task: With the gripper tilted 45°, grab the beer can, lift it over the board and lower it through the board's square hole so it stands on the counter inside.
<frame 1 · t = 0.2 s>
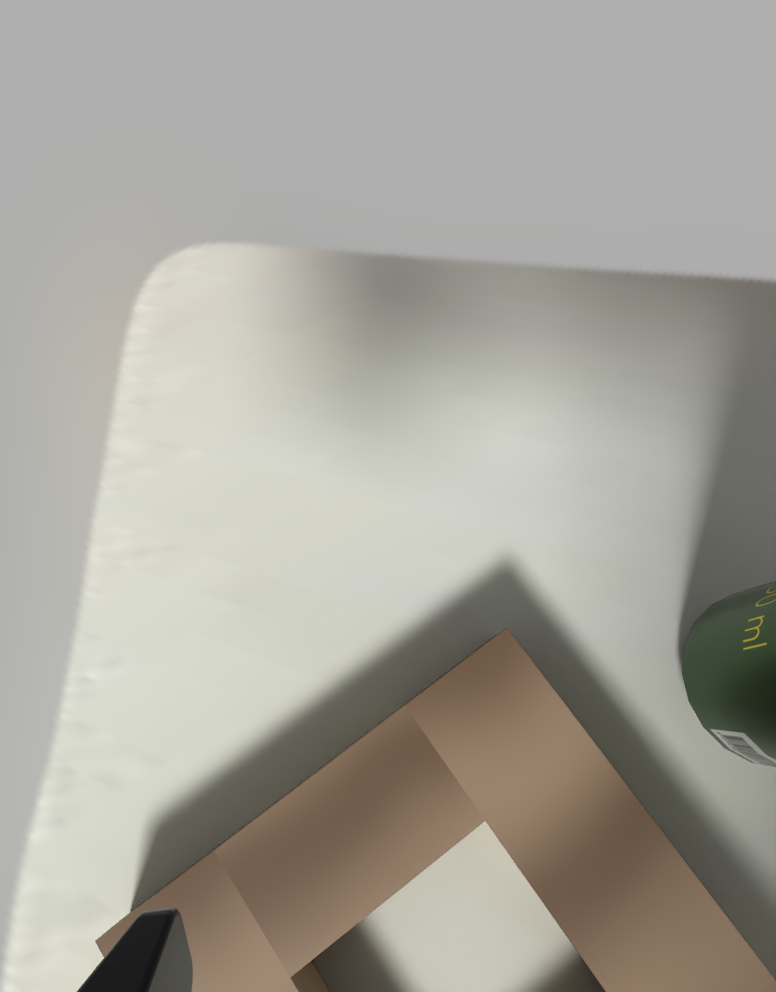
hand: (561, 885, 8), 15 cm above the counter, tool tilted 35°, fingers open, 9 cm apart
hole board: (456, 974, 21), on the counter
beer can: (754, 676, 23), on the counter
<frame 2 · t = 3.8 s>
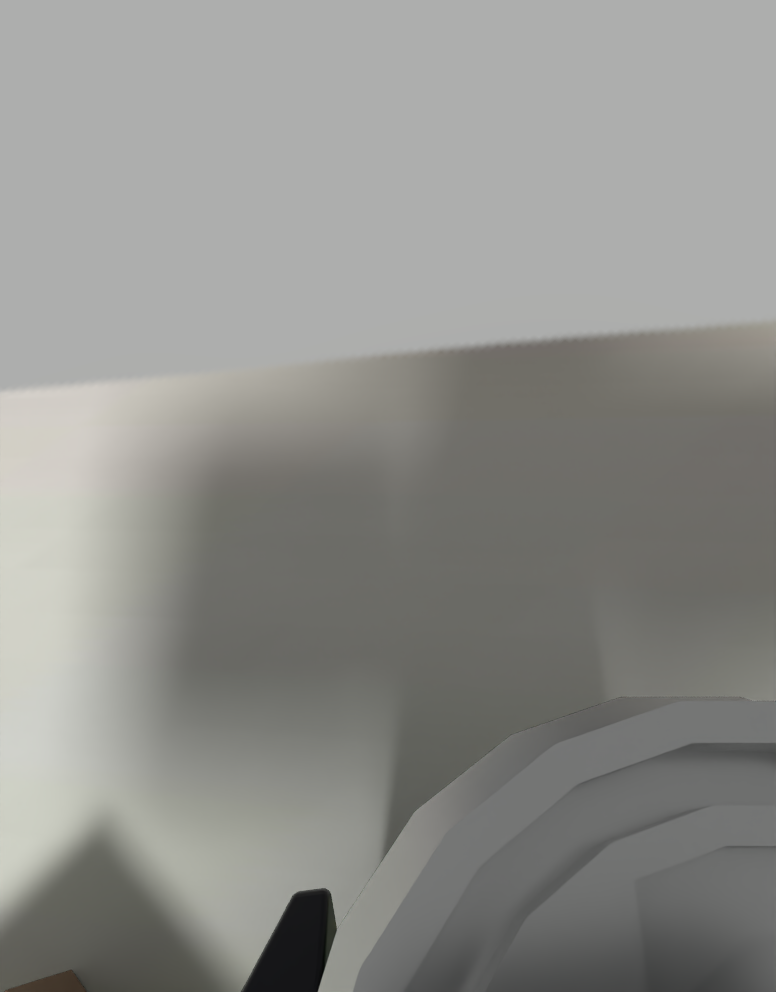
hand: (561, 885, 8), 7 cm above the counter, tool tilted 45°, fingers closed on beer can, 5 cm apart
beer can: (511, 957, 14), on the counter, touching gripper
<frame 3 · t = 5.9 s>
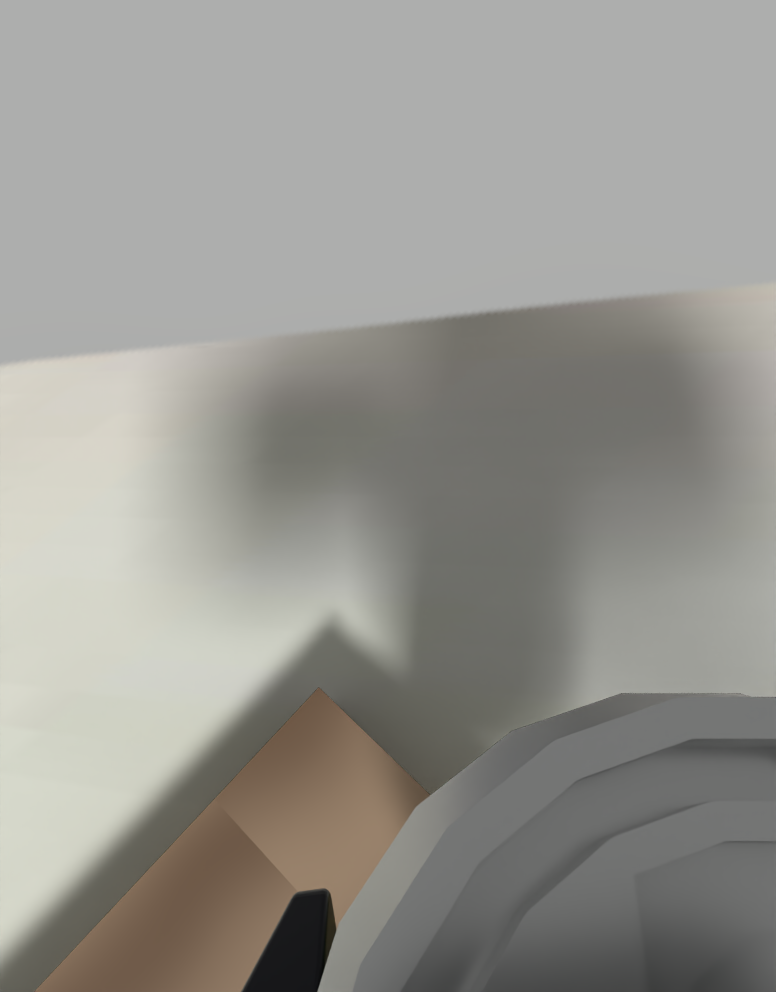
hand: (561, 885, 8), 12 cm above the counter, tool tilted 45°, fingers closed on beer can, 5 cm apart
beer can: (512, 953, 14), point 6 cm above the counter, touching gripper
when the fingers open (8 cm above the counter, at t = 8.4 s): beer can drops 1 cm, resting in hole board.
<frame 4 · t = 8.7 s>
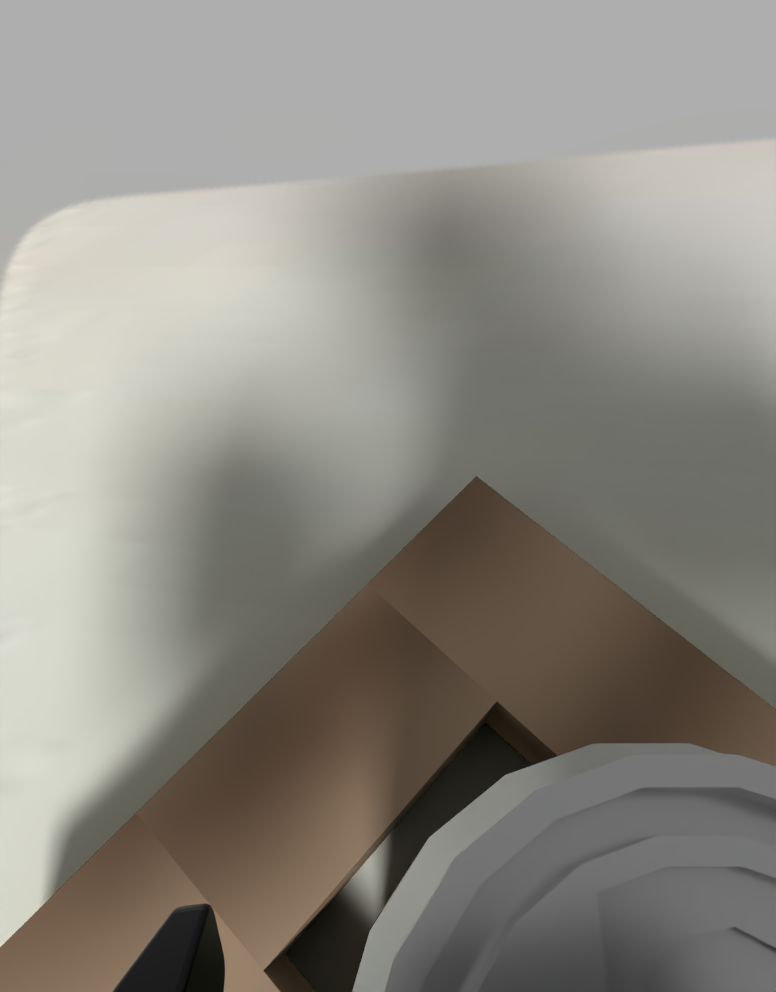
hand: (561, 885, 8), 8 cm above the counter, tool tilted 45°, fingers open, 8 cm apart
hole board: (504, 949, 15), on the counter
beer can: (507, 957, 15), resting in hole board
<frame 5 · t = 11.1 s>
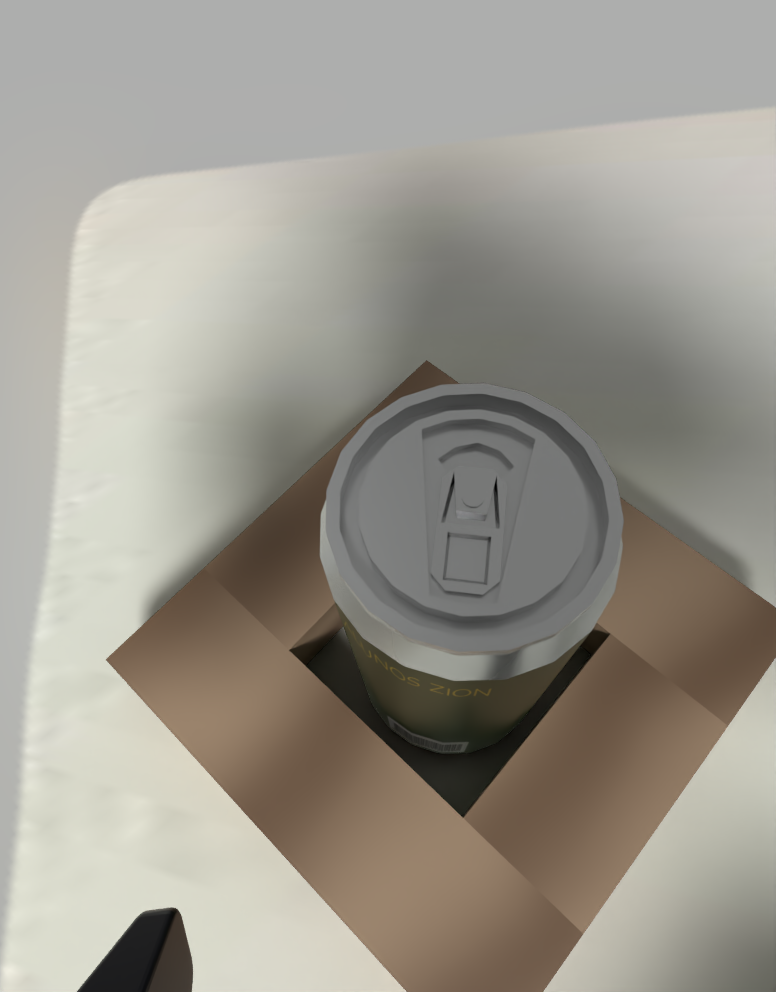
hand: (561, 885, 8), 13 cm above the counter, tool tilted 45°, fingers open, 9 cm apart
hole board: (446, 662, 23), on the counter
beer can: (448, 668, 23), resting in hole board
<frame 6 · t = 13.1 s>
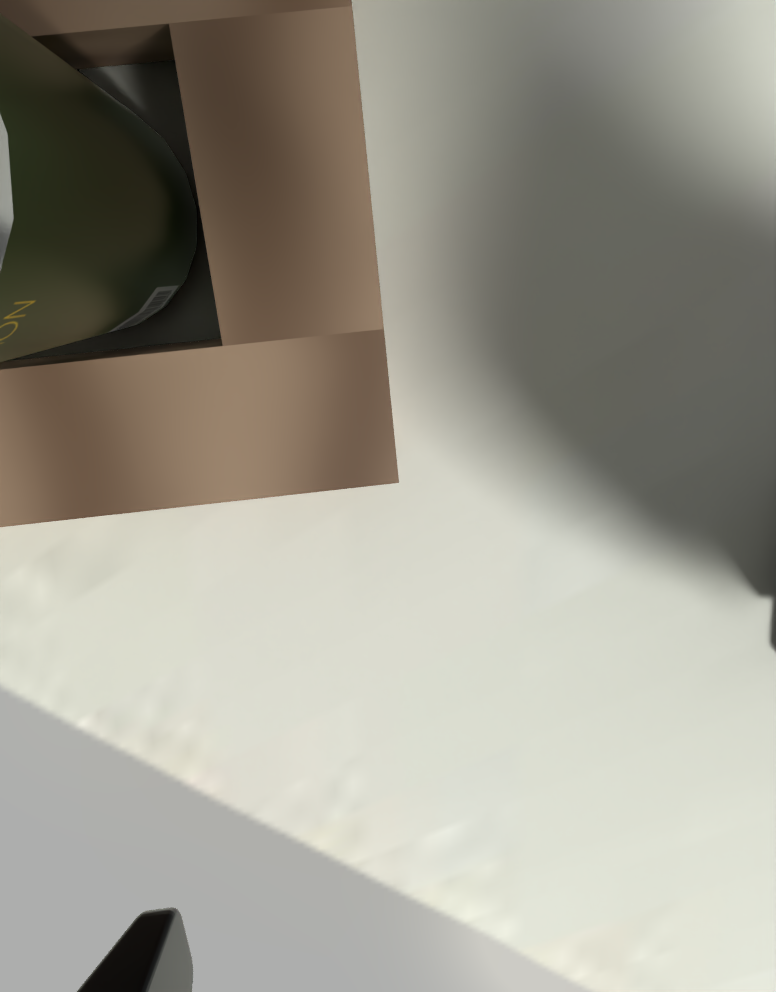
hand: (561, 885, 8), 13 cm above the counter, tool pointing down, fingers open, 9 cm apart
hole board: (86, 218, 18), on the counter
beer can: (97, 220, 18), resting in hole board
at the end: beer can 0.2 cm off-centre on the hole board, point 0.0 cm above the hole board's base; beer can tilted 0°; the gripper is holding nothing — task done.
